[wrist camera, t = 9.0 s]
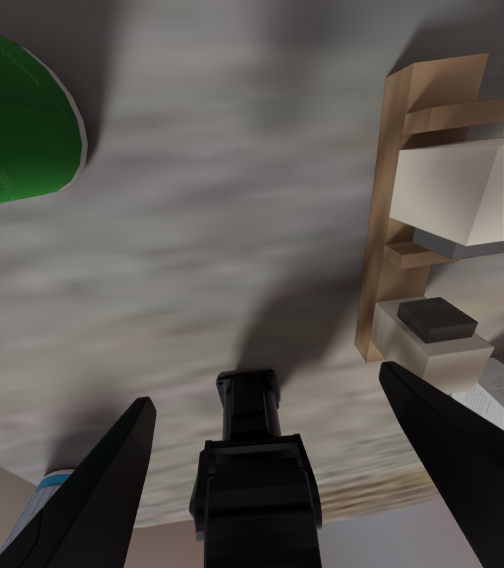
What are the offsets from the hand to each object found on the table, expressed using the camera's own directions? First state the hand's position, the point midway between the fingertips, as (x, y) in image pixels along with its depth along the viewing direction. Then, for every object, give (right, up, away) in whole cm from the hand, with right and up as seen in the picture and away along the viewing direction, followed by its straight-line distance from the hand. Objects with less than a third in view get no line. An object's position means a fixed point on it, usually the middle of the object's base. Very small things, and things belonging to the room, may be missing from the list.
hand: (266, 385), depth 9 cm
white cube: (+11, +11, +6) cm, 16 cm away
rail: (+11, +7, +11) cm, 17 cm away
